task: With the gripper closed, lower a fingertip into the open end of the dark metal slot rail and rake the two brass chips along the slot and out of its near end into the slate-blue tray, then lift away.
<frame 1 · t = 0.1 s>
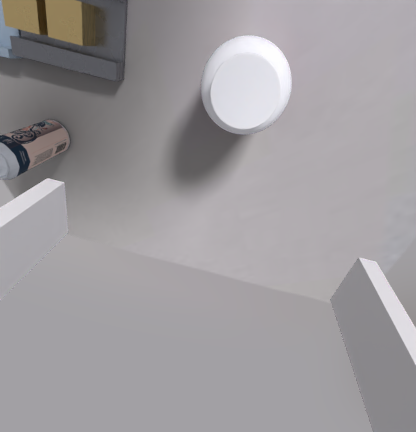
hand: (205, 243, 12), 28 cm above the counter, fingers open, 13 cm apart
pill bottle: (246, 78, 34), on the counter
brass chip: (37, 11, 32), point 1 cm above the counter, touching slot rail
beer can: (57, 135, 41), on the counter
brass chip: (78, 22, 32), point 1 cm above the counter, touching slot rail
slot rail: (73, 20, 33), on the counter
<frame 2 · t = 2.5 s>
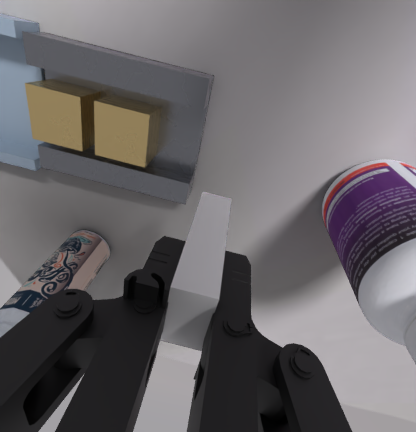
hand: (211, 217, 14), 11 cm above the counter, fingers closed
pill bottle: (367, 198, 24), on the counter
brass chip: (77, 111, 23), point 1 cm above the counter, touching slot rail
beer can: (93, 243, 31), on the counter
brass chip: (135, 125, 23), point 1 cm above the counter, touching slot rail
slot rail: (126, 121, 23), on the counter
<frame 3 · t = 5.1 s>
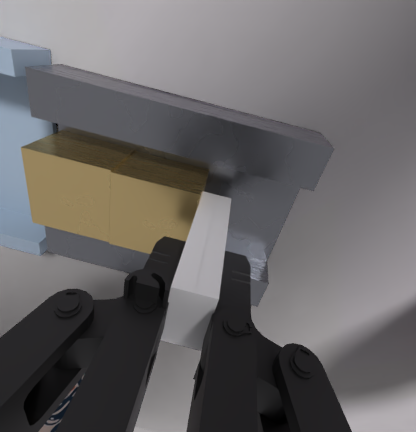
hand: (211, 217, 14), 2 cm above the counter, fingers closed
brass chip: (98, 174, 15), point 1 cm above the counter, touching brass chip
beer can: (112, 326, 24), on the counter
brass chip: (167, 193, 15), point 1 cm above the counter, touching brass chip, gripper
slot rail: (175, 188, 16), on the counter
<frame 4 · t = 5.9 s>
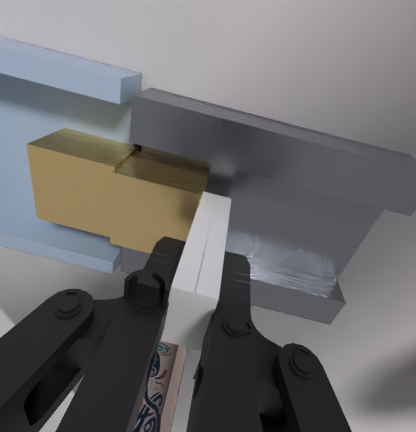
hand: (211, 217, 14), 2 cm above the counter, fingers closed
chip tray: (58, 157, 16), on the counter
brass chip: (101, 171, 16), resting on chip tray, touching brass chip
beer can: (162, 339, 24), on the counter
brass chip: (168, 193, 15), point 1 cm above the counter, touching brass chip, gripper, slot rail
slot rail: (250, 207, 16), on the counter
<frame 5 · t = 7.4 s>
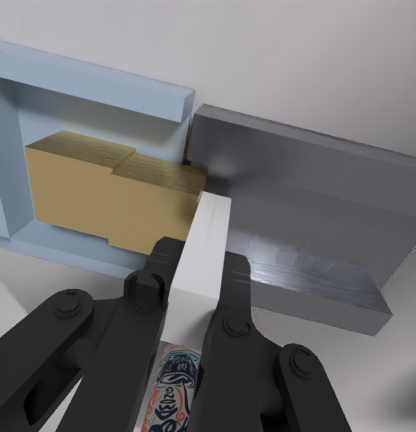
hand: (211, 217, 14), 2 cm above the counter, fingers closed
chip tray: (103, 172, 16), on the counter
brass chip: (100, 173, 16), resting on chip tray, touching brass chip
beer can: (193, 348, 24), on the counter
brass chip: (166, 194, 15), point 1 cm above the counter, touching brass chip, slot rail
slot rail: (294, 220, 16), on the counter
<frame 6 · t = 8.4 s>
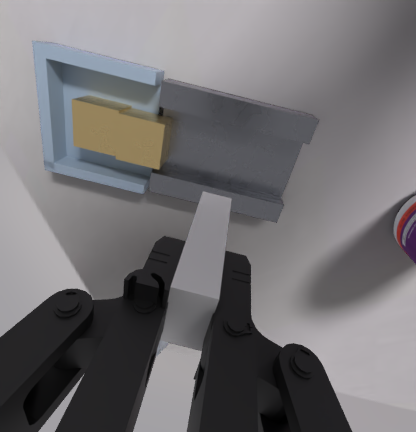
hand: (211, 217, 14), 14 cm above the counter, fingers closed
chip tray: (111, 122, 26), on the counter
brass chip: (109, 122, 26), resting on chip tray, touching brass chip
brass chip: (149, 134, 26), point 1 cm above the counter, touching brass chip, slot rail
slot rail: (226, 151, 26), on the counter
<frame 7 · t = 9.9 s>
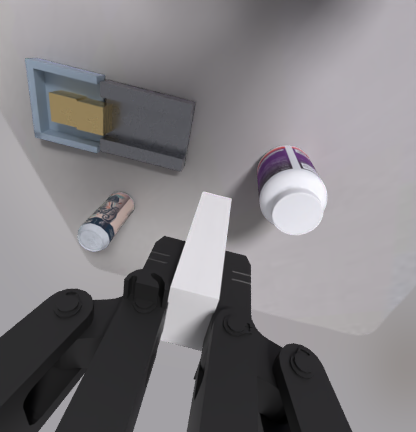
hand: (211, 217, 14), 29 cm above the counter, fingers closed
chip tray: (76, 107, 42), on the counter
pill bottle: (282, 168, 43), on the counter
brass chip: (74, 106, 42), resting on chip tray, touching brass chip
beer can: (123, 201, 50), on the counter
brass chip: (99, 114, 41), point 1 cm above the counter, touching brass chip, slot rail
slot rail: (148, 125, 42), on the counter
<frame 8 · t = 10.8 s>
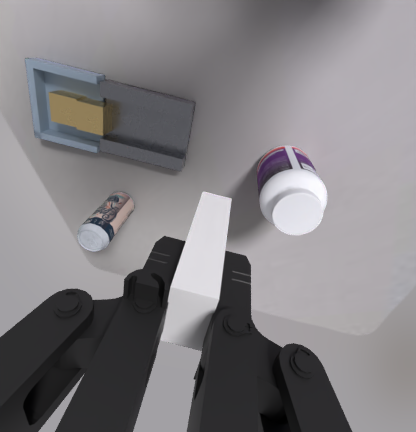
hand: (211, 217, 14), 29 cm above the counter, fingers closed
chip tray: (76, 106, 42), on the counter
pill bottle: (282, 168, 43), on the counter
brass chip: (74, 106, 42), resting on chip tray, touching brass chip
beer can: (123, 201, 50), on the counter
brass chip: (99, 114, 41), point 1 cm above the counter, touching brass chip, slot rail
slot rail: (148, 125, 42), on the counter
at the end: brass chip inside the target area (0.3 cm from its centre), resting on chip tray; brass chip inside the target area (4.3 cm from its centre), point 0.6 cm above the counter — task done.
